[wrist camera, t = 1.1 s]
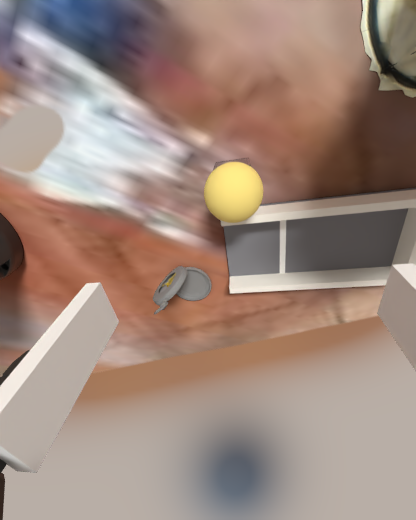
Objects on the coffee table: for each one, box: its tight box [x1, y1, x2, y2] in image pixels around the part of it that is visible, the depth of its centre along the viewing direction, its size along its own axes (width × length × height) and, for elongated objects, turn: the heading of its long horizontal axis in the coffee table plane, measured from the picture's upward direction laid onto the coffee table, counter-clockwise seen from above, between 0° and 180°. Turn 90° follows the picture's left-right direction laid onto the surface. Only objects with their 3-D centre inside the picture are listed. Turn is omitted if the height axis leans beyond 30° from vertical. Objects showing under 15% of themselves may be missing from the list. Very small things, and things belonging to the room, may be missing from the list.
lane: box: [221, 188, 416, 293], centre depth 33 cm, size 24×12×4 cm, turn 99°
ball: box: [204, 162, 263, 223], centre depth 25 cm, size 6×6×6 cm
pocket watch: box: [153, 266, 211, 314], centre depth 36 cm, size 8×8×10 cm
